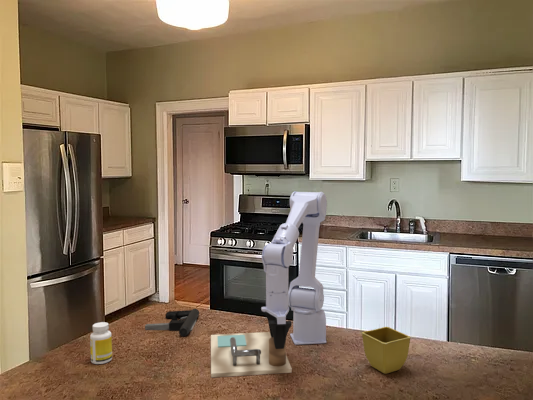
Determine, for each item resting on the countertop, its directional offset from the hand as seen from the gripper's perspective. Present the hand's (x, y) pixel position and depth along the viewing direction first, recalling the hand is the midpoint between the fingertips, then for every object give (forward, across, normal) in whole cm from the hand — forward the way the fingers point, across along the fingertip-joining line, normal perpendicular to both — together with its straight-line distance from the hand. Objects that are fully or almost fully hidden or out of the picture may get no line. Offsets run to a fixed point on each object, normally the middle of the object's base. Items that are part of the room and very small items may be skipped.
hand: (277, 342), depth 117 cm
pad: (+6, -16, -11) cm, 20 cm away
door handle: (+7, -35, -29) cm, 46 cm away
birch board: (+6, -9, -7) cm, 13 cm away
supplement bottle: (+7, -10, -46) cm, 47 cm away
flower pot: (+6, +5, +27) cm, 28 cm away
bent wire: (+5, -5, -8) cm, 11 cm away
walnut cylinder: (+5, 0, 0) cm, 5 cm away
